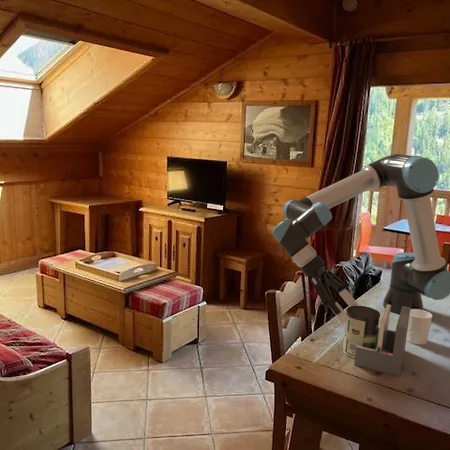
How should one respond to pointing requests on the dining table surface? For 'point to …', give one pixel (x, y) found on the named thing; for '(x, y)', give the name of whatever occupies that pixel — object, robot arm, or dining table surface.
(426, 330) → the white cup
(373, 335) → the coffee can
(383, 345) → the curved beige panel
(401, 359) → the grey u-shaped holder
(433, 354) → the dining table surface
